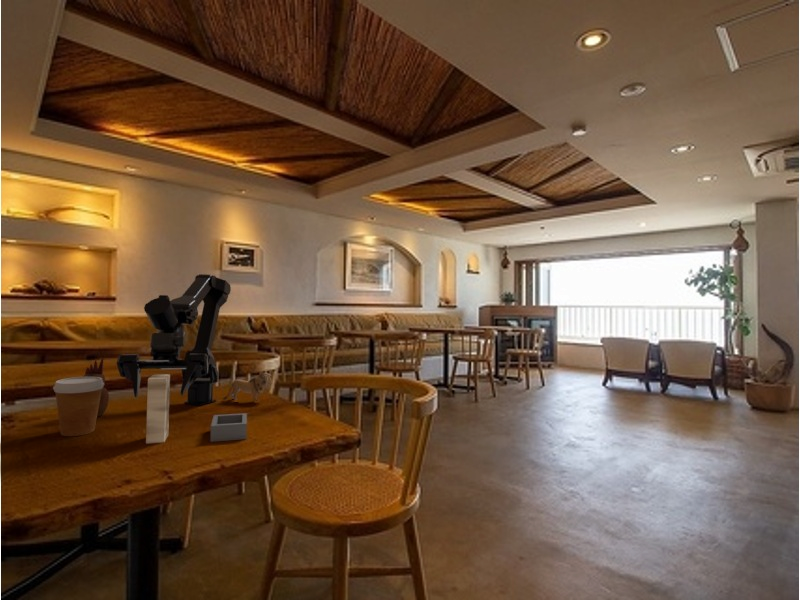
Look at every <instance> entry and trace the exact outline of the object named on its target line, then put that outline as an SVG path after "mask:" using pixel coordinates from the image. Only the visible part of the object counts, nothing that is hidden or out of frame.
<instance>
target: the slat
mask: <svg viewBox="0 0 800 600" xmlns="http://www.w3.org/2000/svg"><path fill="white" fill-rule="evenodd" d="M170 382H171V374H166V373H165V374H152V375H151V376H150V377H148V379H147V397H146V398H147V399H146V400H147V402H146V403H147V404H146V431H145V434H146V435H145V444H147V445H148V444H160V443H165V442H166V440H167V438H168V437H169V424H170V423H169V421H170V393H171V391H170V388H171V383H170Z"/></svg>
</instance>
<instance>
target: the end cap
mask: <svg viewBox="0 0 800 600" xmlns="http://www.w3.org/2000/svg"><path fill="white" fill-rule="evenodd" d="M247 425H248V413H245V412H244V413H230V414H229V413H227V414H214V415H213V417H212V420H211V423H210V441H209V442H222V441H223V442H224V441H235V440H236V441H237V440H240V441H241V440H247V432H248V431H247V427H248V426H247Z"/></svg>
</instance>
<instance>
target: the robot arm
mask: <svg viewBox="0 0 800 600" xmlns="http://www.w3.org/2000/svg"><path fill="white" fill-rule="evenodd" d="M231 290H232V289H231V284H230V283H229V282H228V281H227V280H225V279H222V278H219V277H217V276H216V275H213V274H203V273H201V274H200V273H199V274H196V275H195V277H194V281H192V283H191V284H190V285H189V287H188V288H187V289H186V290H185V291H184V293H183V294H182V295H181V296H178V297H176V298H173V299H171V300H170V297H169V295H167V294H165V295H164V294H159V295H158V297H156V298H153V299H151V300H150V301H147V303H145V305H144V307H143V310H144V312H145V314H146V317H147V318H148V320H149V321H150V323H151V325H152V327H153V328H154V329H155V330H158V332H153V333H151V335H150V345H149V347H150V353H149V354H150V357H152V359H141V358H140V353H133V354H132V353H131V354H130V353H129V354H128V353H127V354H125V353H124V354H120V355H119V356H118V357H117V360H116V367H117V369H118V372H119V376H120V377H122V378H125V380H127V381H128V380H129V381H131V383H132V390H133V395H134V398H138V395H139V392H140V386H141V378H142V377H141V373H142V370H144V369H146V370H147V369H157V370H181V375H182V383H181V388H180V396H184V395H185V393H186V392H187V400H184V402H183V403H184V404H187V405H195V406H204V405H207V404H206V403H208V404H210V403H209V402H211V403H214V402H213V401H215V402H217V398H213V395H214V394H213V390H214V384H215V383H219V378H220V377H219V376H220V372H219V369H218V368H217V365H216V359H215V357H214V355H213V353H212V348H213V345H214V344H213V343H214V339H215V335H216V333H215V332H216V329H217V324H218V319H219V314H220V310H221V308H222V307H223V305H225V304H226V302H228V299H229V296H230V294H231ZM202 302H203V307H202V312H201V315H200V316H201V317H200V320H199V325H198V330H197V334H196V339H195V343H194V347H193V348H192V349H191V350H187V351H186V352H185V355H184V359H180V357H181V351H182V347H183V348H184V347H185V345H186V333H185V325H188V326H189V325H193V324H194V323H195V321H196V320H197V319H198V316H199V311H198V308H199V306H200V304H201V303H202ZM203 404H204V405H203Z"/></svg>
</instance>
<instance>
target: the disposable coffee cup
mask: <svg viewBox="0 0 800 600" xmlns="http://www.w3.org/2000/svg"><path fill="white" fill-rule="evenodd" d="M104 386H105V382H104V383H103V380H102V378H100V377H83V376H77V377H67V378H62V379H59V380H56V381H55V384H54V386H52V390H53V391H54V392H55V398H56V406H57V407H56V408H57V415H58V422H59V424H58V425H59V430H60V431H59V432H60V435H61V436H63V437H75V436H83V435H87V434H91V433H93V432H95V430H96V423H97V419H98V417H97V414H98V408H99V402H100V397H101V391H102V388H103V387H104Z"/></svg>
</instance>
